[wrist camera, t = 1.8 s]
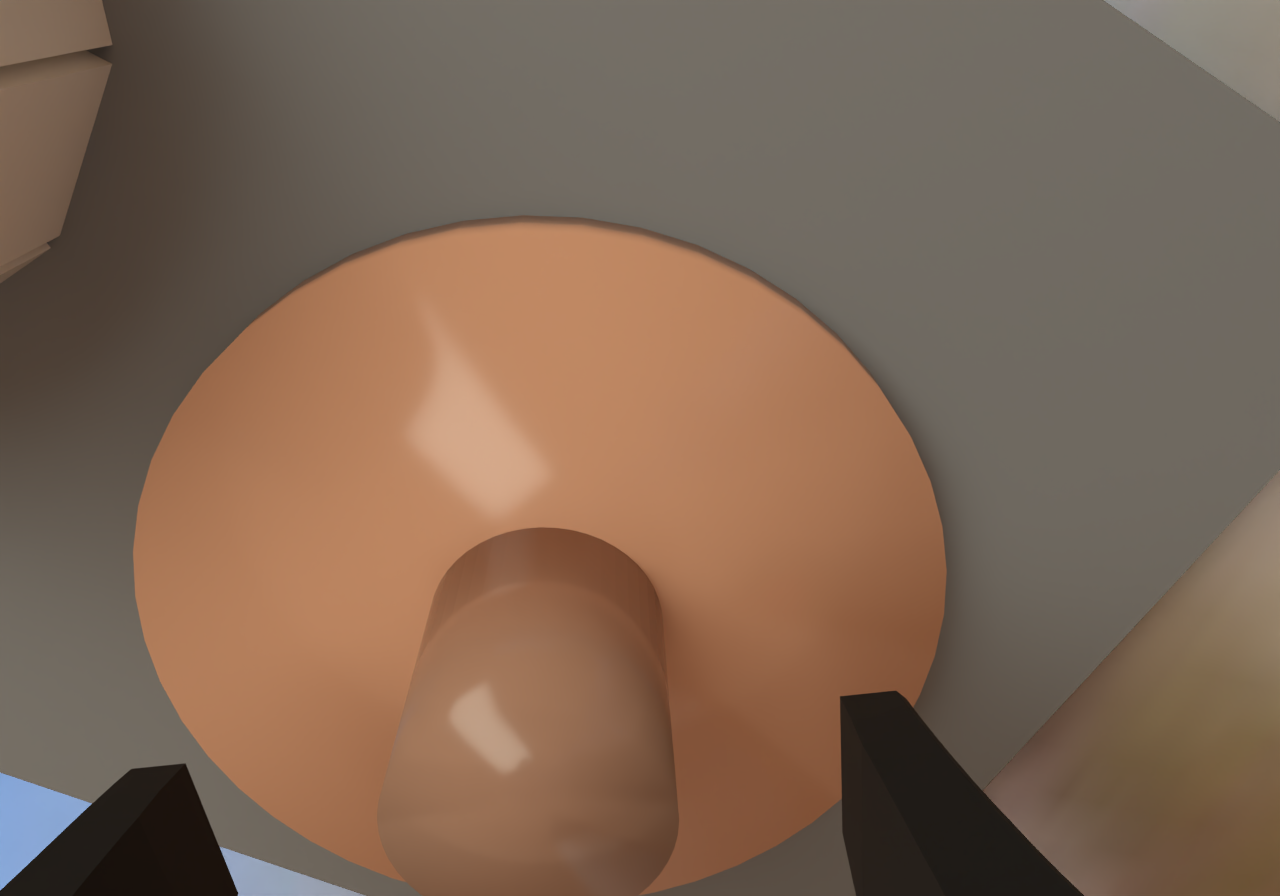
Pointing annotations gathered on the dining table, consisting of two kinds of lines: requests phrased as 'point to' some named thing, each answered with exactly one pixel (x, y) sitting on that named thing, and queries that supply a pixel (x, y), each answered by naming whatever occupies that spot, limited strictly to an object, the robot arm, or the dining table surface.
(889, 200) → the mat
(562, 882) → the lid
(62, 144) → the bowl
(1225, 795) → the dining table surface
